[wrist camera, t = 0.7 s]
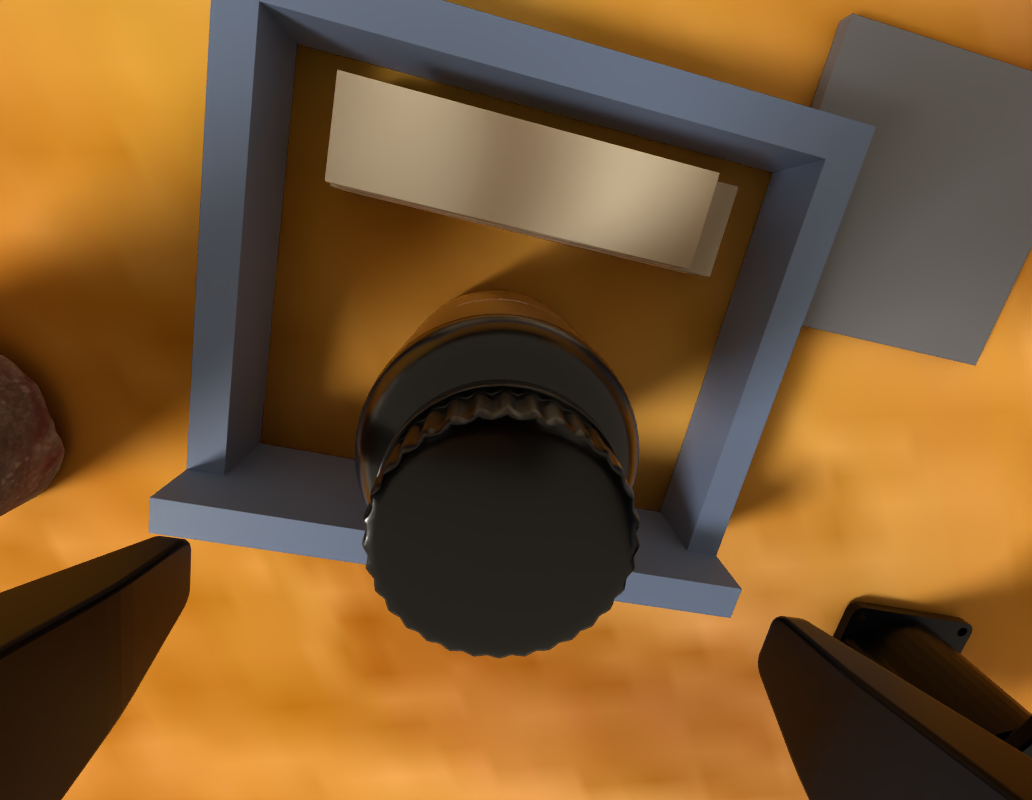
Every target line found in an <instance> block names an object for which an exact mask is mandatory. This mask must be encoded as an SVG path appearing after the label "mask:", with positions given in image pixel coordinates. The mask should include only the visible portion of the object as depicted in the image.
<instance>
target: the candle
mask: <svg viewBox="0 0 1032 800" xmlns="http://www.w3.org/2000/svg"><path fill="white" fill-rule="evenodd" d="M64 454H65V449H64V446H63V442H62V440H61V438H60V437H59V435H58V434H57V432H56V430H55V423H54V421H53V419H52V418H51V416H50V413H49V410H48V408H47V405H46V403H45V400H44V397H43V395H42V393H41V391H40V389H39V387H38V385H37V384H36V383H35V382H34V381H33V380H32V379H31V378H29V377H28V376H26V375H25V374H24V373H23V372H22V371H21V370H20V369H19V368H18V367H17V366H16V364H15V363H13V362H12V361H10V360H9V359H8V358H6V357H5V356H2V355H0V516H2V515H3V514H5V513H7V512H9V511H11V510H12V509H14V508H16V507H18V506H20V505H22V504H23V503H25V502H27V501H29V500H31V499H33V498H34V497H36V496H37V495H39V494H40V493H41V492H42V491H44V490H45V489H46V488H47V487H48V486H49V485H50V483H51V482H52V479H53V478H54V476H55V475H56V474H57V472H58V470H59V468H60V466H61V464H62V461H63V457H64Z"/></svg>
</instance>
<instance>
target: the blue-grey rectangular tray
mask: <svg viewBox="0 0 1032 800" xmlns="http://www.w3.org/2000/svg"><path fill="white" fill-rule="evenodd" d="M297 44H299V45H303V46H307V47H310V48H314V49H318V50H321V51H325V52H329V53H332V54H336V55H340V56H344V57H347V58H351V59H355V60H358V61H362V62H366V63H369V64H373V65H377V66H381V67H384V68H388V69H392V70H395V71H399V72H403V73H406V74H410V75H414V76H417V77H421V78H425V79H429V80H432V81H436V82H440V83H443V84H447V85H451V86H454V87H458V88H462V89H465V90H469V91H473V92H477V93H480V94H484V95H488V96H491V97H495V98H499V99H502V100H506V101H510V102H514V103H517V104H521V105H525V106H528V107H532V108H536V109H539V110H543V111H547V112H550V113H554V114H558V115H562V116H565V117H569V118H573V119H576V120H580V121H584V122H587V123H591V124H595V125H599V126H602V127H606V128H610V129H613V130H617V131H621V132H624V133H628V134H632V135H635V136H639V137H643V138H647V139H650V140H654V141H658V142H661V143H665V144H669V145H672V146H676V147H680V148H684V149H687V150H691V151H695V152H698V153H702V154H706V155H709V156H713V157H717V158H720V159H724V160H728V161H732V162H735V163H739V164H743V165H746V166H750V167H754V168H757V169H761V170H765V171H768V172H772V175H771V178H770V181H769V184H768V187H767V190H766V193H765V196H764V199H763V202H762V205H761V208H760V211H759V214H758V218H757V221H756V224H755V227H754V230H753V233H752V236H751V239H750V242H749V245H748V248H747V251H746V254H745V257H744V260H743V263H742V266H741V269H740V272H739V275H738V278H737V281H736V284H735V287H734V290H733V293H732V296H731V299H730V302H729V305H728V308H727V311H726V314H725V317H724V320H723V323H722V326H721V329H720V332H719V335H718V338H717V341H716V344H715V347H714V350H713V353H712V357H711V360H710V363H709V366H708V369H707V372H706V375H705V378H704V381H703V384H702V387H701V390H700V393H699V396H698V399H697V402H696V405H695V408H694V411H693V414H692V417H691V420H690V423H689V426H688V429H687V432H686V435H685V438H684V441H683V444H682V447H681V450H680V453H679V456H678V459H677V462H676V465H675V468H674V471H673V474H672V477H671V480H670V483H669V486H668V489H667V493H666V496H665V499H664V502H663V505H662V508H661V511H660V512H657V511H651V510H646V509H640V508H635V510H636V511H637V513H638V515H639V518H640V524H639V528H638V530H637V535H638V539H639V543H640V546H639V549H638V551H637V552H636V554H635V556H634V563H635V569H634V570H633V571H632V573H631V574H630V575H629V576H628V577H627V579H626V586H625V590H624V591H623V592H622V593H621V594H620V595H618V596H617V597H616V598H615V599H614V601H619V602H625V603H632V604H639V605H646V606H653V607H660V608H666V609H673V610H680V611H687V612H694V613H701V614H707V615H714V616H721V617H728V618H731V615H732V613H733V610H734V607H735V605H736V602H737V600H738V597H739V595H740V592H741V590H742V589H741V587H740V586H739V585H738V584H737V582H736V581H735V580H734V578H733V577H732V576H731V575H730V573H729V572H728V571H727V569H726V568H725V567H724V565H723V564H722V563H721V562H720V560H719V559H718V558H717V556H716V555H717V552H718V549H719V547H720V544H721V541H722V538H723V536H724V533H725V530H726V528H727V525H728V522H729V520H730V517H731V514H732V512H733V509H734V506H735V504H736V501H737V498H738V496H739V493H740V490H741V488H742V485H743V482H744V480H745V477H746V474H747V472H748V469H749V466H750V463H751V461H752V458H753V455H754V453H755V450H756V447H757V445H758V442H759V439H760V437H761V434H762V431H763V429H764V426H765V423H766V421H767V418H768V415H769V413H770V410H771V407H772V405H773V402H774V399H775V397H776V394H777V391H778V388H779V386H780V383H781V380H782V378H783V375H784V372H785V370H786V367H787V364H788V362H789V359H790V356H791V354H792V351H793V348H794V346H795V343H796V340H797V338H798V335H799V332H800V330H801V327H802V324H803V322H804V319H805V316H806V313H807V311H808V308H809V305H810V303H811V300H812V297H813V295H814V292H815V289H816V287H817V284H818V281H819V279H820V276H821V273H822V271H823V268H824V265H825V263H826V260H827V257H828V255H829V252H830V249H831V247H832V244H833V241H834V238H835V236H836V233H837V230H838V228H839V225H840V222H841V220H842V217H843V214H844V212H845V209H846V206H847V204H848V201H849V198H850V196H851V193H852V190H853V188H854V185H855V182H856V180H857V177H858V174H859V172H860V169H861V166H862V163H863V161H864V158H865V155H866V153H867V150H868V147H869V145H870V142H871V139H872V137H873V134H874V131H875V129H876V126H872V125H869V124H865V123H862V122H858V121H855V120H852V119H848V118H845V117H841V116H838V115H834V114H831V113H828V112H824V111H821V110H817V109H814V108H810V107H807V106H804V105H800V104H797V103H793V102H790V101H786V100H783V99H779V98H776V97H773V96H769V95H766V94H762V93H759V92H755V91H752V90H749V89H745V88H742V87H738V86H735V85H731V84H728V83H725V82H721V81H718V80H714V79H711V78H707V77H704V76H701V75H697V74H694V73H690V72H687V71H683V70H680V69H677V68H673V67H670V66H666V65H663V64H659V63H656V62H653V61H649V60H646V59H642V58H639V57H635V56H632V55H629V54H625V53H622V52H618V51H615V50H611V49H608V48H605V47H601V46H598V45H594V44H591V43H587V42H584V41H581V40H577V39H574V38H570V37H567V36H563V35H560V34H557V33H553V32H550V31H546V30H543V29H539V28H536V27H533V26H529V25H526V24H522V23H519V22H515V21H512V20H509V19H505V18H502V17H498V16H495V15H491V14H488V13H485V12H481V11H478V10H474V9H471V8H467V7H464V6H461V5H457V4H454V3H450V2H447V1H443V0H211V10H210V29H209V48H208V67H207V87H206V106H205V125H204V144H203V164H202V183H201V202H200V221H199V241H198V260H197V279H196V298H195V317H194V337H193V356H192V375H191V394H190V414H189V433H188V452H187V470H185V471H184V472H183V473H182V474H180V475H179V476H178V477H176V478H175V479H174V480H172V481H171V482H170V483H168V484H167V485H166V486H164V487H163V488H162V489H160V490H159V491H158V492H157V493H155V494H154V495H153V496H151V497H150V509H149V533H154V534H161V535H168V536H175V537H182V538H188V539H195V540H202V541H209V542H216V543H223V544H229V545H236V546H243V547H250V548H257V549H264V550H270V551H277V552H284V553H291V554H298V555H304V556H311V557H318V558H325V559H332V560H339V561H345V562H352V563H359V564H366V562H367V554H366V552H365V551H364V548H363V546H362V539H363V536H364V533H365V531H366V530H365V526H364V521H363V517H364V513H365V511H366V508H367V506H366V504H365V501H364V499H363V496H362V493H361V490H360V487H359V484H358V479H357V474H356V467H355V459H349V458H343V457H337V456H332V455H326V454H320V453H314V452H308V451H302V450H297V449H291V448H285V447H279V446H273V445H268V444H262V443H260V441H261V431H262V420H263V409H264V398H265V388H266V377H267V366H268V355H269V344H270V334H271V323H272V312H273V301H274V291H275V280H276V269H277V258H278V247H279V237H280V226H281V215H282V204H283V194H284V183H285V172H286V161H287V151H288V140H289V129H290V118H291V107H292V97H293V86H294V75H295V64H296V54H297Z"/></svg>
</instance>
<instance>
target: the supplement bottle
mask: <svg viewBox="0 0 1032 800" xmlns="http://www.w3.org/2000/svg"><path fill="white" fill-rule="evenodd" d="M638 463H639V436H638V430H637V423H636V419H635V415H634V412H633V409H632V406H631V403H630V401H629V398H628V396H627V394H626V392H625V390H624V388H623V386H622V385H621V383H620V382H619V380H618V378H617V377H616V375H615V374H614V372H613V371H612V370H611V368H610V367H609V366H608V365H607V363H606V362H605V361H604V360H603V359H602V357H601V356H600V355H599V354H598V353H597V352H596V351H595V350H594V349H593V348H592V347H590V346H589V345H588V344H587V343H586V342H585V341H584V340H583V339H582V338H581V337H580V336H579V335H578V334H577V333H576V332H575V331H574V330H573V329H572V328H571V327H570V326H569V325H568V324H567V323H566V322H565V321H564V320H562V319H561V318H560V317H559V316H558V315H557V314H556V313H555V312H553V311H552V310H551V309H550V308H548V307H547V306H545V305H544V304H542V303H541V302H539V301H537V300H535V299H533V298H531V297H528V296H526V295H523V294H520V293H516V292H511V291H505V290H484V291H477V292H472V293H469V294H465V295H462V296H460V297H458V298H455V299H453V300H451V301H449V302H448V303H446V304H444V305H443V306H442V307H440V308H439V309H437V310H436V311H435V312H434V313H433V314H432V315H431V316H429V317H428V318H427V319H426V320H425V322H424V323H423V324H422V325H421V326H420V327H419V328H418V329H417V330H416V332H415V333H414V334H413V335H412V336H411V337H410V339H409V340H408V341H407V342H406V343H405V344H404V345H403V347H402V348H401V349H400V350H399V351H398V352H397V354H396V355H395V356H394V357H393V358H392V359H391V361H390V362H389V363H388V364H387V365H386V367H385V368H384V369H383V371H382V372H381V373H380V375H379V376H378V378H377V380H376V381H375V383H374V385H373V386H372V388H371V390H370V392H369V394H368V396H367V398H366V400H365V403H364V405H363V407H362V411H361V414H360V417H359V420H358V425H357V429H356V437H355V467H356V474H357V479H358V484H359V487H360V490H361V493H362V496H363V499H364V501H365V504H366V506H367V508H366V511H365V513H364V517H363V521H364V526H365V530H366V531H365V533H364V536H363V539H362V546H363V548H364V551H365V552H366V554H367V562H366V569H367V571H368V572H369V574H370V575H372V577H373V578H374V586H375V591H376V592H377V593H378V594H379V595H380V596H382V597H383V598H384V599H385V601H386V605H387V607H388V610H389V611H390V612H392V613H393V614H395V615H396V616H398V617H400V618H401V620H402V622H403V624H404V625H405V627H406V628H408V629H411V630H414V631H417V632H419V633H420V634H421V636H422V637H423V638H424V639H425V640H426V641H429V642H433V643H439V644H441V645H442V646H444V647H445V648H446V649H448V650H449V651H464V652H465V653H467V654H470V655H472V656H483V655H489V656H492V657H496V658H503V657H506V656H509V655H516V656H527V655H529V654H531V653H532V652H535V651H545V650H550V649H552V648H553V647H554V646H556V645H557V644H558V643H560V642H566V641H569V640H572V639H573V638H574V637H575V636H576V635H577V634H578V633H579V632H580V631H582V630H585V629H587V628H590V627H592V626H593V625H594V623H595V622H596V620H597V619H598V617H599V616H600V615H602V614H604V613H606V612H607V611H609V610H610V609H611V607H612V605H613V602H614V599H615V598H616V597H617V596H618V595H620V594H621V593H622V592H623V591H624V590H625V586H626V579H627V577H628V576H629V575H630V574H631V573H632V571H633V570H634V569H635V563H634V556H635V554H636V552H637V551H638V549H639V546H640V543H639V539H638V535H637V530H638V528H639V524H640V518H639V515H638V513H637V511H636V510H635V508H634V506H635V495H634V492H633V487H634V483H635V479H636V475H637V469H638Z"/></svg>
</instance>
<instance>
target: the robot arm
mask: <svg viewBox="0 0 1032 800" xmlns="http://www.w3.org/2000/svg"><path fill="white" fill-rule="evenodd" d="M190 570H191V547H190V543H189V542H188V541H187V540H185V539H179V538H171V537H163V536H156V537H152V538H150V539H147V540H144V541H141V542H139V543H136V544H133V545H130V546H128V547H125V548H122V549H119V550H117V551H114V552H111V553H108V554H106V555H103V556H100V557H97V558H95V559H92V560H89V561H86V562H84V563H81V564H78V565H75V566H73V567H70V568H67V569H64V570H62V571H59V572H56V573H53V574H50V575H48V576H45V577H42V578H39V579H37V580H34V581H31V582H28V583H26V584H23V585H20V586H17V587H15V588H12V589H9V590H6V591H4V592H1V593H0V800H62V798H63V797H64V795H65V794H66V793H67V791H68V790H69V788H70V787H71V786H72V784H73V783H74V781H75V780H76V779H77V777H78V776H79V774H80V773H81V772H82V770H83V769H84V767H85V766H86V765H87V763H88V762H89V760H90V759H91V758H92V756H93V755H94V753H95V752H96V751H97V749H98V748H99V746H100V745H101V744H102V742H103V741H104V739H105V738H106V737H107V735H108V734H109V732H110V731H111V729H112V728H113V726H114V725H115V723H116V722H117V721H118V719H119V718H120V716H121V715H122V713H123V712H124V710H125V708H126V707H127V705H128V703H129V702H130V700H131V698H132V697H133V695H134V693H135V692H136V690H137V688H138V687H139V685H140V683H141V681H142V680H143V678H144V676H145V674H146V673H147V671H148V669H149V667H150V666H151V664H152V662H153V661H154V659H155V657H156V655H157V654H158V652H159V650H160V648H161V647H162V645H163V643H164V642H165V640H166V638H167V636H168V635H169V633H170V631H171V629H172V628H173V626H174V624H175V623H176V621H177V619H178V617H179V616H180V614H181V612H182V610H183V609H184V607H185V605H186V602H187V600H188V596H189V592H190ZM971 633H972V627H971V625H970V624H968V623H967V622H966V621H964V620H963V619H961V618H957V617H951V616H945V615H938V614H932V613H925V612H919V611H913V610H906V609H900V608H893V607H887V606H880V605H874V604H868V603H861V602H855V603H852V604H850V605H849V606H848V607H847V609H846V610H845V612H844V614H843V617H842V619H841V621H840V623H839V625H838V627H837V629H836V632H835V634H834V636H833V637H832V636H831V635H829V634H827V633H826V632H824V631H822V630H821V629H819V628H818V627H816V626H814V625H813V624H811V623H809V622H808V621H806V620H804V619H801V618H793V617H785V616H779V617H777V618H775V619H774V620H773V622H772V623H771V626H770V628H769V631H768V634H767V636H766V639H765V641H764V644H763V646H762V649H761V651H760V654H759V658H758V668H759V673H760V676H761V679H762V682H763V684H764V687H765V690H766V692H767V695H768V698H769V700H770V703H771V706H772V708H773V711H774V714H775V716H776V719H777V722H778V724H779V727H780V730H781V732H782V735H783V738H784V740H785V743H786V746H787V748H788V751H789V754H790V756H791V759H792V761H793V764H794V766H795V769H796V771H797V774H798V776H799V779H800V781H801V783H802V785H803V787H804V790H805V792H806V794H807V796H808V798H809V800H1032V714H1031V713H1030V712H1029V711H1027V710H1026V709H1025V708H1024V707H1023V706H1021V705H1020V704H1019V703H1018V702H1017V701H1016V700H1014V699H1013V698H1012V697H1011V696H1010V695H1008V694H1007V693H1006V692H1005V691H1004V690H1002V689H1001V688H1000V687H999V686H998V685H997V684H995V683H994V682H993V681H992V680H991V679H989V678H988V677H987V676H986V675H985V674H983V673H982V672H981V671H980V670H979V669H978V668H976V667H975V666H974V665H973V664H972V663H970V662H969V661H968V660H967V659H966V658H965V657H963V656H962V655H961V654H960V653H961V651H962V649H963V647H964V646H965V644H966V642H967V640H968V638H969V637H970V635H971Z"/></svg>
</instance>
